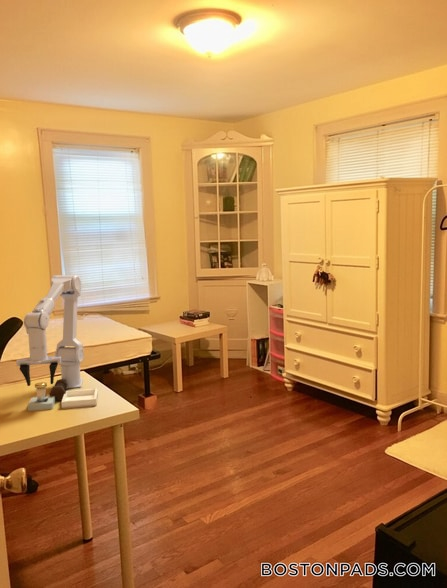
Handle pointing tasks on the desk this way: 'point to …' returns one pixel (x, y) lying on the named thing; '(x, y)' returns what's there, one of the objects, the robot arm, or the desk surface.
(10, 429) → the desk surface
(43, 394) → the pin
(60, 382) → the dark brown faceted bar
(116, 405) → the desk surface
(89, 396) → the tray
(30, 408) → the grey square socket block
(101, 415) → the desk surface
